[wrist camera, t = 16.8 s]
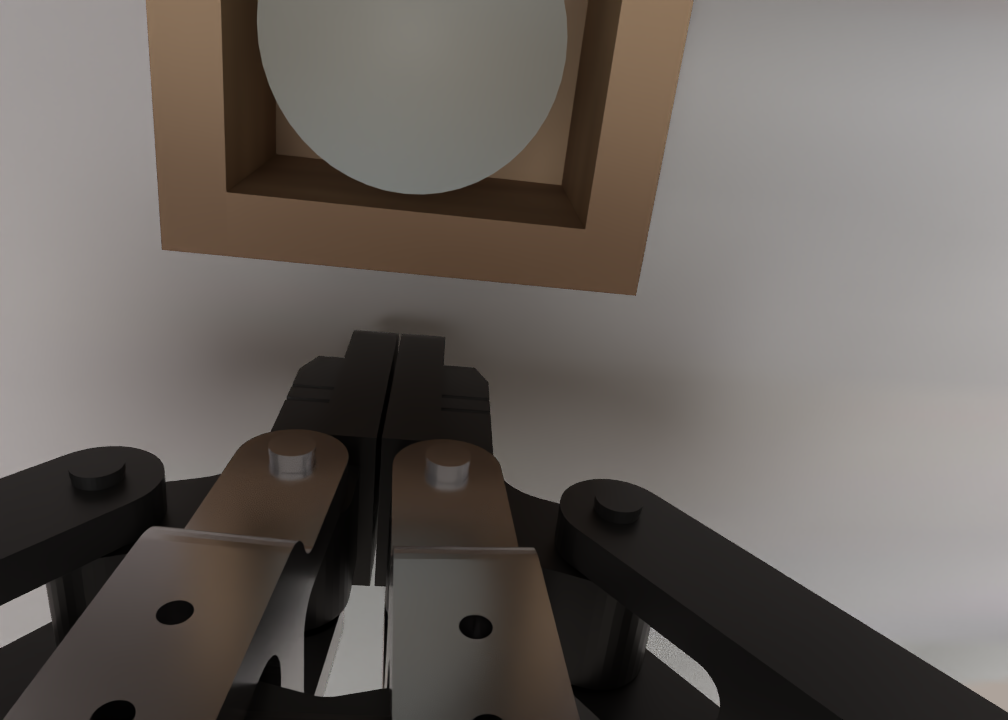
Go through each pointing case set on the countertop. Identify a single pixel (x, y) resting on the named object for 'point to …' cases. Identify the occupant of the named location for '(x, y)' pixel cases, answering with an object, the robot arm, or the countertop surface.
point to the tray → (418, 233)
